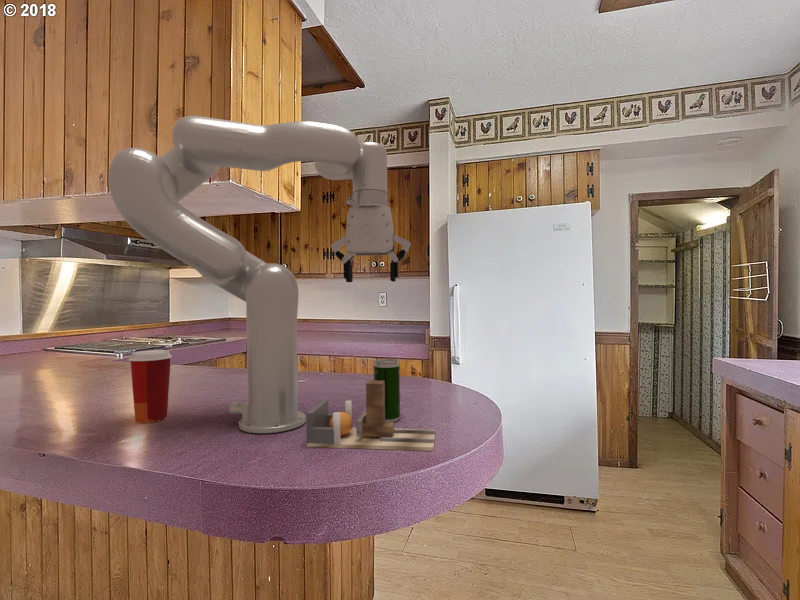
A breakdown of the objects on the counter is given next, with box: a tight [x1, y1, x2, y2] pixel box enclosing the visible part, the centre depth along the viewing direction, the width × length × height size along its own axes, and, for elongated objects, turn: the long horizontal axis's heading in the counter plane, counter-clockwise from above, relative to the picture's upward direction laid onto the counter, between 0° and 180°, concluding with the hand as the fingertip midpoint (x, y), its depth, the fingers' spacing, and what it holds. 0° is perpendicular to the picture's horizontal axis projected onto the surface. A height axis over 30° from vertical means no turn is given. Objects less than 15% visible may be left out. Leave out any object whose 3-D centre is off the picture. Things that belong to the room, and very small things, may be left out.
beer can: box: [372, 358, 401, 423], centre depth 83 cm, size 5×5×12 cm
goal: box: [305, 399, 353, 444], centre depth 72 cm, size 6×9×5 cm, turn 173°
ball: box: [330, 411, 354, 436], centre depth 71 cm, size 4×4×4 cm
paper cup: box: [127, 349, 173, 424], centre depth 84 cm, size 8×8×14 cm
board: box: [306, 426, 436, 452], centre depth 71 cm, size 21×9×1 cm, turn 83°
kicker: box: [355, 379, 395, 437], centre depth 71 cm, size 6×6×9 cm
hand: (371, 281), depth 88 cm, fingers open, 9 cm apart
